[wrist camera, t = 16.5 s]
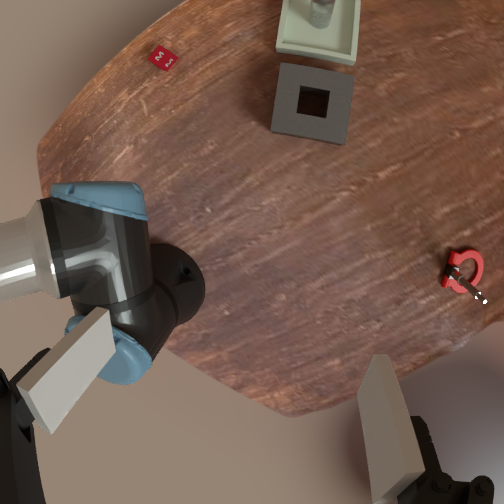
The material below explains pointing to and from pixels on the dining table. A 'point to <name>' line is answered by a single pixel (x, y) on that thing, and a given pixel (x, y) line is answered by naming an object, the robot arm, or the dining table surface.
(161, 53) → the dice
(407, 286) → the dining table surface
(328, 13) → the pin
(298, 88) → the hitch block
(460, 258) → the tow hook
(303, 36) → the tray
